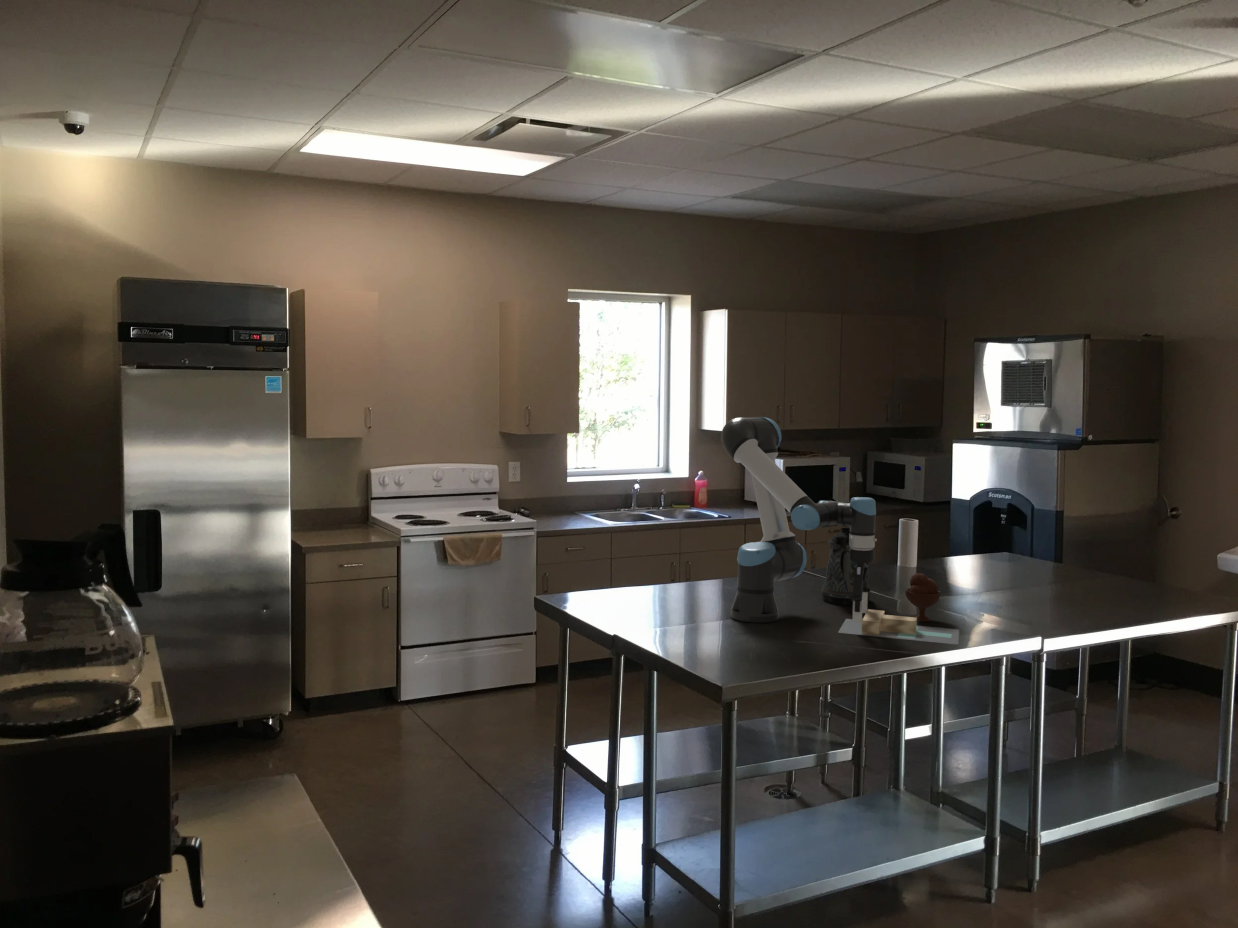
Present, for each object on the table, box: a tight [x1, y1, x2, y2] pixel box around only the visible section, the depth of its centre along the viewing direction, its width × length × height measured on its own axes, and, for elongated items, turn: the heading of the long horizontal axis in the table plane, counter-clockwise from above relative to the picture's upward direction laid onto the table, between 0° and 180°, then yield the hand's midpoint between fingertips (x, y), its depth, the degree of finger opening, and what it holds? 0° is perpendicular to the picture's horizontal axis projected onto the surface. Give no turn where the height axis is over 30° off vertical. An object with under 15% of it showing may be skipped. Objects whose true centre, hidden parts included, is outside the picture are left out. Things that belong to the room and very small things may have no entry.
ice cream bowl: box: [904, 573, 942, 622], centre depth 316 cm, size 11×11×15 cm
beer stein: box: [820, 527, 871, 606], centre depth 343 cm, size 16×19×25 cm
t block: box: [862, 608, 918, 635], centre depth 302 cm, size 15×16×4 cm
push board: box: [837, 618, 960, 645], centre depth 301 cm, size 34×19×1 cm, turn 70°
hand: (859, 617), depth 305 cm, fingers open, 13 cm apart
